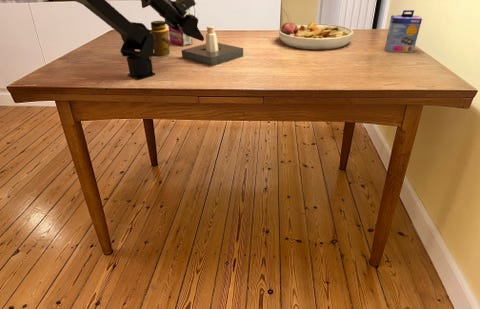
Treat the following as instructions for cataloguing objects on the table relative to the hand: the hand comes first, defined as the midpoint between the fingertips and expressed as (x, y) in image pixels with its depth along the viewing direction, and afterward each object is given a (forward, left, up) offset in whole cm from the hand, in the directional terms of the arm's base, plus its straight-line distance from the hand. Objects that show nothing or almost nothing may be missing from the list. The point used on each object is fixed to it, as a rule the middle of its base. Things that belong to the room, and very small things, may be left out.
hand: (198, 37), depth 118 cm
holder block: (+5, -1, -8) cm, 9 cm away
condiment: (-5, +18, -8) cm, 20 cm away
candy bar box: (+12, +26, -8) cm, 29 cm away
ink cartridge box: (+55, -51, -8) cm, 76 cm away
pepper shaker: (+5, -1, -8) cm, 10 cm away
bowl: (+48, -18, -8) cm, 52 cm away
